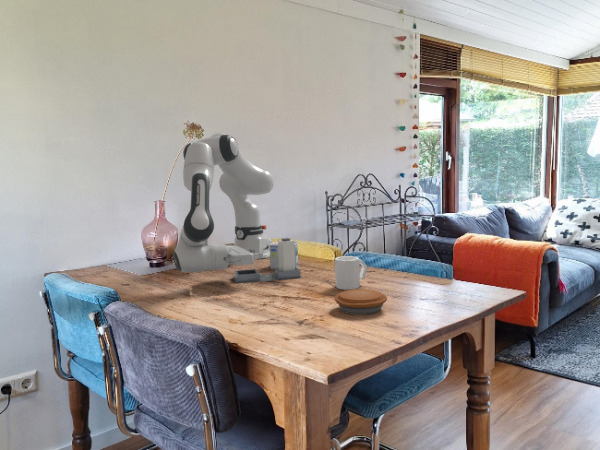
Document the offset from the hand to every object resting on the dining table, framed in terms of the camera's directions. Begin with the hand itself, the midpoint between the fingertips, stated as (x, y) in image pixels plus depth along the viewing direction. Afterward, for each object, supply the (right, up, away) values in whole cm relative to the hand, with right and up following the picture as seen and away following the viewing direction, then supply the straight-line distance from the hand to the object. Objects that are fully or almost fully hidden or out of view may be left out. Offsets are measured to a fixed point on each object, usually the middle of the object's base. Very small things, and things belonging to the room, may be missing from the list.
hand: (258, 253), depth 203 cm
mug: (+33, -11, -9) cm, 36 cm away
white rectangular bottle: (+10, -8, +5) cm, 14 cm away
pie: (+33, -15, -38) cm, 52 cm away
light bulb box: (+9, -8, +21) cm, 25 cm away
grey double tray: (+3, -10, +4) cm, 11 cm away
